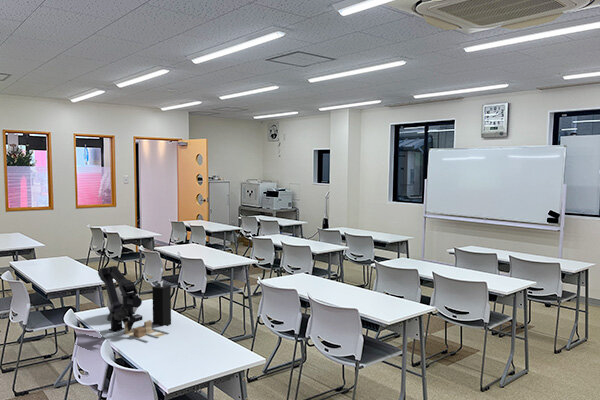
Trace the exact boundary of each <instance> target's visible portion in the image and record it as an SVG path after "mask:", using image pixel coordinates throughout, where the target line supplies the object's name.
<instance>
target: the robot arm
mask: <svg viewBox="0 0 600 400" xmlns="http://www.w3.org/2000/svg"><path fill="white" fill-rule="evenodd" d="M97 274H98V277H99V279H100V281H102V282H103V283H104V286H105V289H106V292H107V298H108V297H109V300H110V304H111V307H110V310H109V309H108V311H109V313H108V315H107V317H106V318H107V321H108V322H110V328H108V331H110V332H114V333H117V332H119V331H121V330H124V327H123V324H124V323H126V322H127V324H128V331H130V330H131V328H132V329H133V326H134V324H135V323H137V322H140V321H143V315H141V314H138V313H137V314H136V311H135V312H133V307H135V308H138V309H139V307H140V306H141V305H142V302H143V300H142V298H141V297H140V295H139V296H138V295H136V294H139V293H138V289H137V287H136V284H135V283H134V282H133V281H132V280H131V279H128V278H127V277H125V276H124V275H123V273H122V272H121V271H120V270H119V268H118V266H117V265H112V266H106V267H101V268H99V269H98V271H97ZM114 280H115V281H116V283H117V284H118V287H119V289H120V291H121V293H122V294H121V296H122V300H123V304H121V303H120V302H119V299H118V296H117V292H116V286H115V282H114ZM133 291H134V292H133ZM129 292H131V293H129ZM139 297H140V298H139Z"/></svg>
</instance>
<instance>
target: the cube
mask: <svg viewBox="0 0 600 400" xmlns="http://www.w3.org/2000/svg"><path fill="white" fill-rule="evenodd" d="M132 331H133V336H134V337H137V338H140V337H141V338H142V337H143V338H144V337H146V336H145V328H144V326H138V327H137V326H136V327H135V328H132ZM141 338H140V339H141Z"/></svg>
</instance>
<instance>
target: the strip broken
mask: <svg viewBox="0 0 600 400" xmlns="http://www.w3.org/2000/svg"><path fill="white" fill-rule="evenodd" d="M143 323H144V324H143V325H144V326H143V327H144V328H145V333H148V334H151V335H152V334H153V335H154V336H158V337H159V338H160V337H163V336H165V335H166V334H165V333H162V332H157V331H155V330H152V328H153V327H152V326H153V322H152V320H151V319H150V320H146V321H144V322H143Z"/></svg>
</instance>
